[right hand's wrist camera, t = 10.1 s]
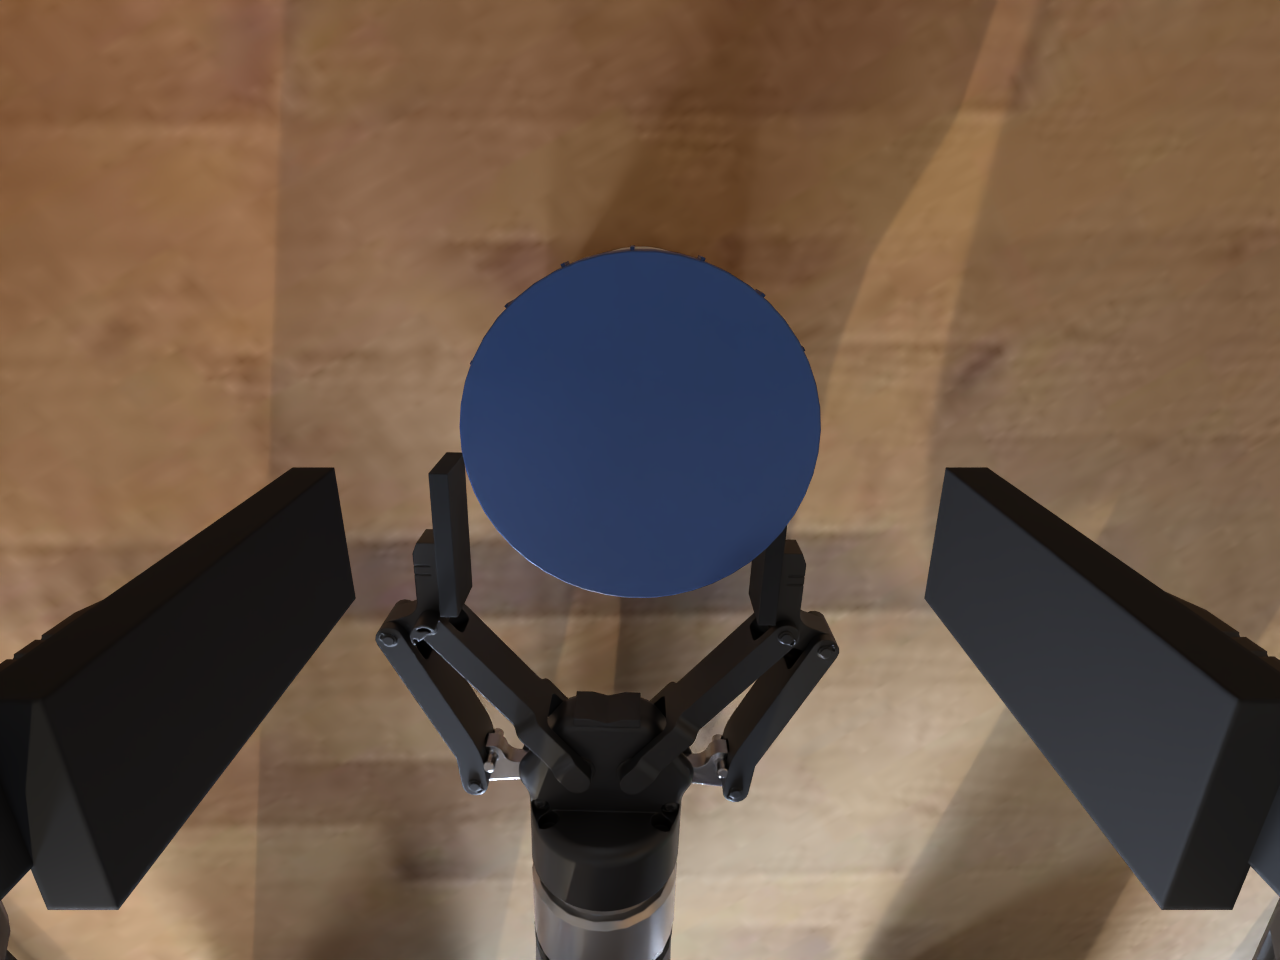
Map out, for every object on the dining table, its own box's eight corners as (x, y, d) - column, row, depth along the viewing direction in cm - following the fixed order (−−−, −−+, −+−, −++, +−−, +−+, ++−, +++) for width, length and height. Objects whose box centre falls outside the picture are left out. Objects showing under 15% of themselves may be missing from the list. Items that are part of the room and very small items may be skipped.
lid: (542, 610, 22) (535, 638, 21) (413, 314, 19) (394, 321, 18) (840, 523, 21) (855, 546, 20) (758, 194, 18) (769, 191, 16)
